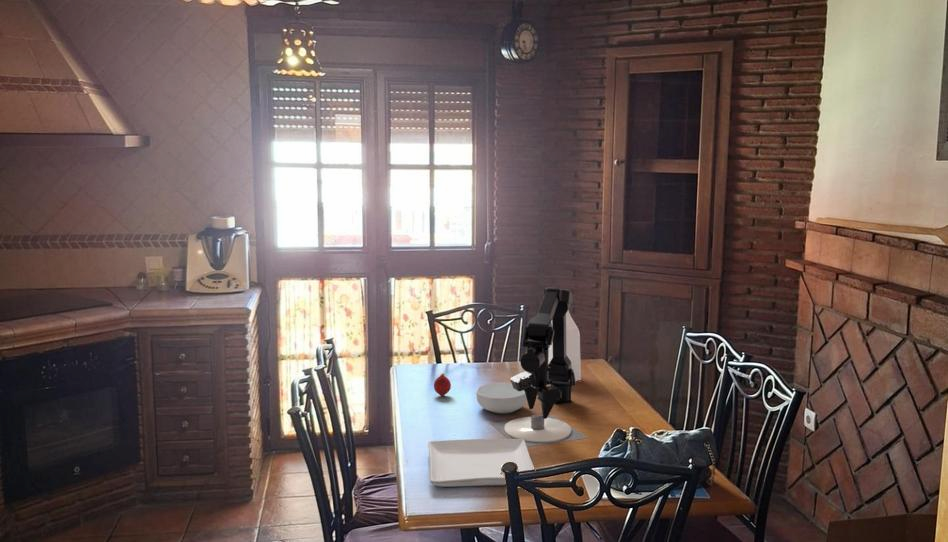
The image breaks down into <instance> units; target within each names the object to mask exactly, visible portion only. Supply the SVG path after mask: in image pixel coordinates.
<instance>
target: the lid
mask: <svg viewBox="0 0 948 542" xmlns="http://www.w3.org/2000/svg"><path fill="white" fill-rule="evenodd" d="M560 420H561V419H560ZM560 420H557V419H553V418H546V419H544V418H543V415H542V414H532V415H531V416H525V417H518V418H514V419H512V420H508V421H509V422H508V423H506V424H505V427H504V430H505V433H506V434H507V435H509V436H510V437H512V438H515V439H523V440H524V441H527V442H554V441H559V440H562V439H565V438H567V437H568V436H569V435H570V434H571V427H572V426H571V425H570V424H569V423H567V422H565V421H563V420H562V421H560ZM570 426H571V427H570Z"/></svg>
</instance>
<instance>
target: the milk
mask: <svg viewBox="0 0 948 542" xmlns="http://www.w3.org/2000/svg"><path fill="white" fill-rule="evenodd" d="M551 322H552V321H551ZM566 355H567V356H568V358H569V359H570V361H571V366H572V369H573V371H574V374H575V381H577V380H581V381H582V372H581V370H582V366H581V365H582V363H581V334H580V330H579V327H578V326H577V324H576V322H575V321H574V319H573V317H572V315H571V313H570V309H569V310H568V311H567V313H566ZM552 358H553V341H552V345H550V347H549V361H548V365H549V363H550V361H551V360H552ZM569 381H570V380H569Z"/></svg>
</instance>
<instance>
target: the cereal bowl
mask: <svg viewBox="0 0 948 542" xmlns="http://www.w3.org/2000/svg"><path fill="white" fill-rule="evenodd" d="M475 394H476V401H477V403H478V404H479V405H480V407H482V408H483V409H484V410H486V411H489V412H492V413H496V414H511V413H513V412H515V411H518V410H520V409H522V408H523V407H524V406H525V405H526V404H527V398H526V395H525V392H524V390H522V391H517V390H516V389H514V388H513V385H512V383H511V382H492V383H486V384H483V385H480V386H478V387H477V389H476V392H475Z"/></svg>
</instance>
